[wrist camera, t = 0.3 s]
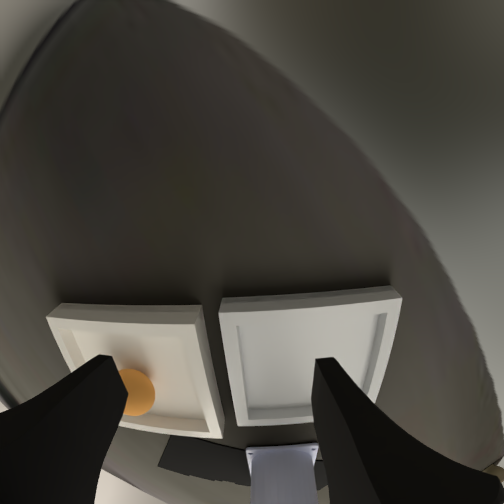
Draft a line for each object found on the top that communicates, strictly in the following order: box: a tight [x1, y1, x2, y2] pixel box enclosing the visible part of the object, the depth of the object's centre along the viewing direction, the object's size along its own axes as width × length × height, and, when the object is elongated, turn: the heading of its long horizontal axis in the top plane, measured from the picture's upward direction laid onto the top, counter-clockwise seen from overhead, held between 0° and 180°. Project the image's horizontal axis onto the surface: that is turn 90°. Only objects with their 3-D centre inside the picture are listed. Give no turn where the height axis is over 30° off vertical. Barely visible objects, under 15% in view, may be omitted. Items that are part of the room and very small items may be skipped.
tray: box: [219, 285, 402, 426], centre depth 19 cm, size 12×12×2 cm
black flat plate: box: [158, 435, 328, 490], centre depth 27 cm, size 12×1×30 cm
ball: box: [119, 369, 155, 416], centre depth 18 cm, size 4×4×4 cm
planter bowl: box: [482, 464, 504, 483], centre depth 37 cm, size 16×16×11 cm
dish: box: [46, 303, 225, 439], centre depth 20 cm, size 13×13×2 cm
